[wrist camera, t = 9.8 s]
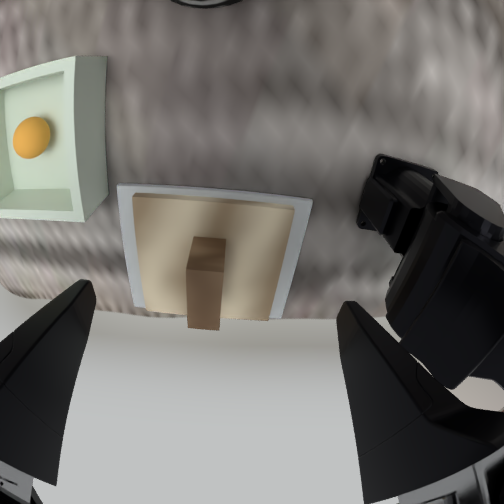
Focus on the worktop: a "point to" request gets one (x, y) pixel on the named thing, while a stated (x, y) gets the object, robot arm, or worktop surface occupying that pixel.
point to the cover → (210, 255)
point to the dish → (55, 140)
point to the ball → (31, 137)
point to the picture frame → (128, 190)
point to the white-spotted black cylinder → (206, 3)
